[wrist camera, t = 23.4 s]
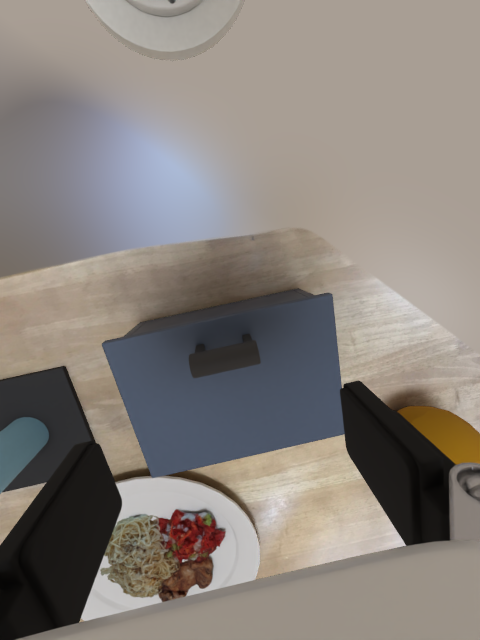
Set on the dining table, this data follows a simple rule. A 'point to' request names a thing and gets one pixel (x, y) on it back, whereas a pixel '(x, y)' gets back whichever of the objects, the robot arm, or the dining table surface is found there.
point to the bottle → (20, 447)
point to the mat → (44, 419)
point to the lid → (231, 384)
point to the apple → (445, 432)
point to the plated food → (172, 546)
